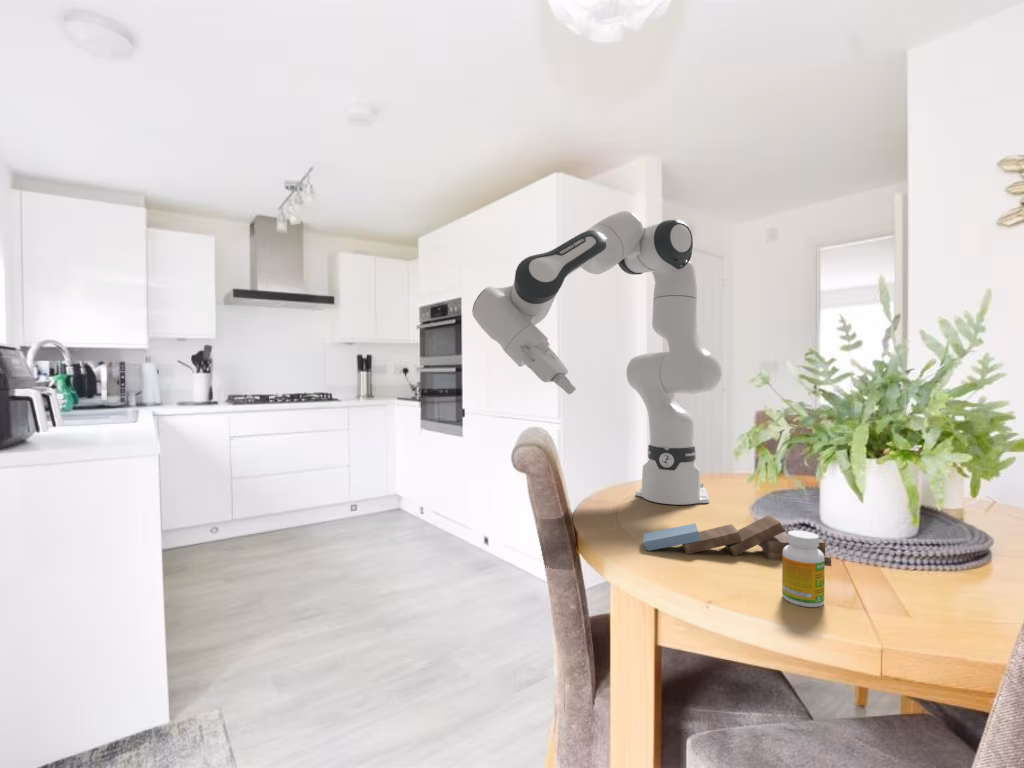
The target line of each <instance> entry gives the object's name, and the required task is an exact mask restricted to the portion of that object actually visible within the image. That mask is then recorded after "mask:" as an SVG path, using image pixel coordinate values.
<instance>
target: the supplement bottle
mask: <svg viewBox="0 0 1024 768" xmlns="http://www.w3.org/2000/svg"><path fill="white" fill-rule="evenodd" d="M787 534H788V543H790V545H787V546H785V547H784V549H783V554H782V567H781V568H782V569H781V570H782V571H781V572H782V573H781V574H782V576H781V577H782V579H781V581H782V582H781V586H782V587H781V594H782V597H783V598H784V600H786V601H787V602H789V603H791V604H793V605H796V606H800V607H805V608H819V607H821V606H824V604H825V576H826V575H825V565H826V564H825V560H824V554H823V553H822V552H821V551H820V550H819V549H817V547H818V546H819V539H820V536H819V535H818V534H817V533H813V532H810V531H805V530H798V529H797V530H795V529H793V530H790V531H789V530H788V532H787Z"/></svg>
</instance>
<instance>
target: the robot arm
mask: <svg viewBox="0 0 1024 768" xmlns="http://www.w3.org/2000/svg"><path fill="white" fill-rule="evenodd" d="M693 245H694V239H693V234H692V231H691V229H690V228H689V226H688V224H686V223H685V222H684V221H682V220H680V219H668V220H663V221H662V222H660V223H656V224H652V225H650V226H647V227H644V226H643V222H642V220H640V217H638V216H637V214H635V213H633V212H631V211H628V210H623V211H618V212H616V213H612V214H611V215H609V216H607V217H605V218H603V219H602V220H600V221H598V222H597V223H595V224H594V225H592V226H590V227H589V228H588V229H586V231H584V232H581V233H579V234H578V235H575V236H574V237H572V238H571V239H569V240H567V241H565V242H563V243H562V244H560V245H559V246H557V247H555V248H553V249H551V250H549V251H546V252H543V253H542V252H541V253H538V254H534V255H530V256H527V257H525V258H524V259H522V260H521V261H520V262H519V264H518V265H517V267H516V270H515V274H514V280H513V284H512V285H509V286H505V287H492V286H488V287H486V288H484V289H483V290H482V291H481V292H480V293H479V294H478V296H477V297H476V299H475V300H474V303H473V305H472V311H471V312H472V316H473V318H474V320H475V321H476V322H477V324H478V325H479V327H480V328H481V329H482V330H483V331H484V332H485V333H486V334H487V335H488V336H489V338H490V339H492V340H494V341H495V342H497V343H498V344H499V345H500V346H501V349H502V350H503V352H504V353H505V354H506V355H507V356H508V357H509V358H510V359H511V360H512V361H513V362H514V363H515V364H516V365H517V366H518V367H523V366H526V367H527V369H530V370H531V371H532V373H533V374H535V376H537V378H538V379H539V380H540V381H542V382H543V383H554V384H556V385H557V386H558V387H560V388H561V389H562V390H563V391H564V392H565V393H566V394H567V395H571V394H573V393H574V392H575V391H576V390H577V389H576V387H575V386H574V384H573V383H571V381H570V380H569V379H568V377H567V376H566V375H567V374H568V373H569V370H568V368H567V366H565V364H564V363H563V362H562V361H561V359H560V358H559V357H558V356H557V354H556V353H555V352H554V351H553V349H552V348H550V346H551V345H550V343H549V342H548V339H549V338H548V337H547V336H546V335H545V334H544V333H543V332H542V331H541V330H540V329H539V328H538V326H536V325H537V324H539V323H541V322H542V321H544V319H545V318H546V317H547V316H548V313H549V311H550V309H551V307H552V305H553V302H554V300H555V298H556V296H557V295H558V293H559V291H560V289H561V288H562V286H563V283H564V281H565V279H566V278H567V277H568V276H569V275H571V274H572V273H574V272H575V271H576V270H578V269H580V268H582V269H583V270H584V271H585V272H587V273H590V274H593V275H601V274H603V273H605V272H607V271H609V270H611V269H613V267H615V266H616V265H618V266H619V268H620V269H621V270H622V271H623V272H624V273H626V274H628V275H637V276H638V275H642V274H644V273H649V272H650V273H652V275H653V278H654V288H653V300H652V323H651V325H652V329H653V331H654V332H655V333H656V334H657V335H658V336H660V337H662V338H663V339H665V340H666V342H667V344H668V351H667V352H666V351H663V352H662V351H660V352H647V353H643V354H639V355H637V356H636V355H635V356H633V357H632V358H631V359H630V361H629V363H627V364H628V365H627V367H626V378H627V382H628V384H629V386H630V387H631V388H632V389H634V390H635V391H636V392H637V394H639V396H640V398H641V399H642V402H643V403H644V405H645V408H646V412H647V414H648V424H649V444H648V447H647V459H648V461H647V462H646V463H645V464H643V465H642V472H641V473H642V475H641V489H638V490H636V491H635V496H638V497H642V498H643V499H644V500H647V501H650V502H654V503H658V504H664V505H676V506H677V505H681V506H685V505H693V504H694V505H695V504H708V503H709V504H710V499H709V495H708V490H707V488H706V487H704V483H703V482H701V469H699V466H697V463H696V453H697V452H696V448H695V446H694V418H693V416H692V414H691V413H690V412H689V411H688V410H686V409H684V408H683V407H681V406H680V405H679V403H678V401H677V398H676V394H681V395H682V394H690V395H691V394H692V395H693V394H701V393H708V392H712V391H713V390H715V388H716V387H717V386H718V385H719V382H720V381H721V377H722V365H721V364H720V361H719V359H718V358H717V357H716V356H715V354H713V353H711V351H709V350H708V349H707V348H706V347H705V345H704V344H703V342H702V340H701V338H700V335H699V332H698V326H697V325H698V324H697V322H698V321H697V301H698V292H697V291H698V290H697V289H698V287H697V286H698V285H697V284H698V283H697V276H696V269H695V266H694V264H693V263H692V262H691V261H690V260H691V257H692V254H693Z"/></svg>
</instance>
